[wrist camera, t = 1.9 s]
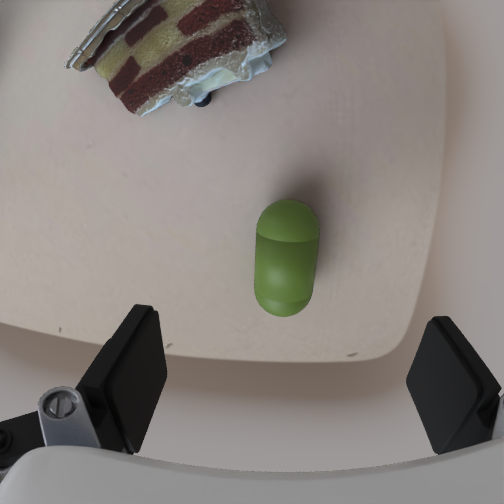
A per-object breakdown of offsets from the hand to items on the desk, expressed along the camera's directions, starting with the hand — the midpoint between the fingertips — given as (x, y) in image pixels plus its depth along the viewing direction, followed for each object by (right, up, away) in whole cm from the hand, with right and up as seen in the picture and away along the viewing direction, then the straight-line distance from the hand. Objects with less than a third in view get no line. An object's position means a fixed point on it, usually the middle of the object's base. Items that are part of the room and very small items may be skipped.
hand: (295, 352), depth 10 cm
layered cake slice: (-5, +14, +4) cm, 16 cm away
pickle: (+1, +3, +8) cm, 9 cm away
